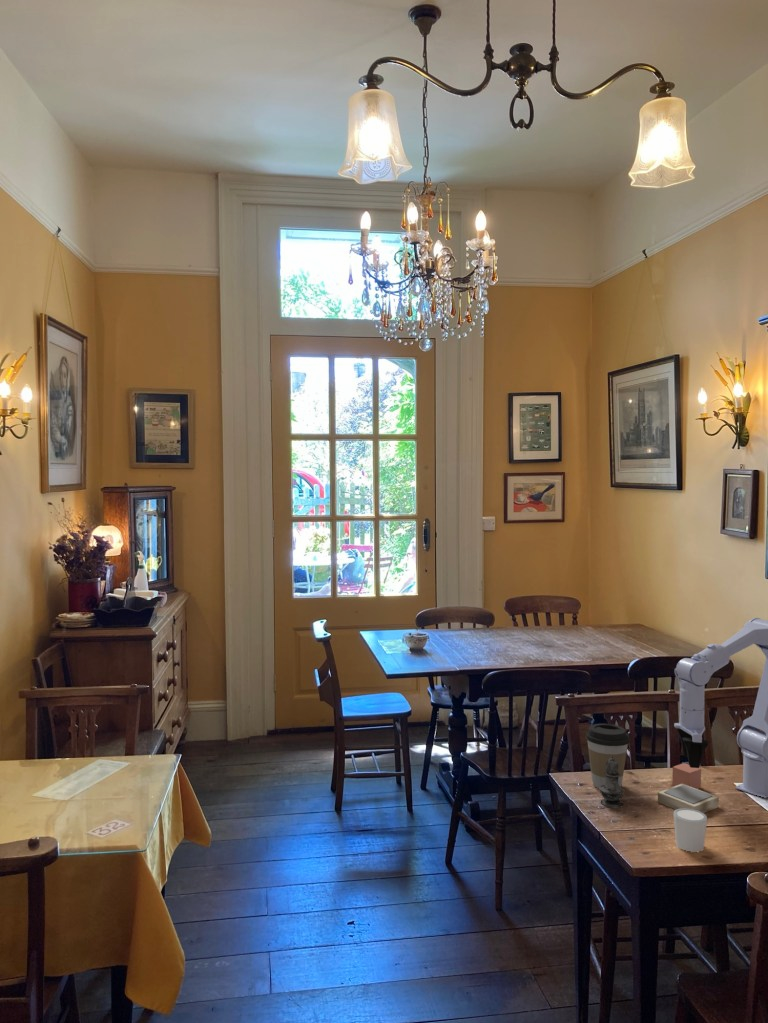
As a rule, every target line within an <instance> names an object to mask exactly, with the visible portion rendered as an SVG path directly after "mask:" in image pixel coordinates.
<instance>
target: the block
mask: <svg viewBox="0 0 768 1023" xmlns="http://www.w3.org/2000/svg"><path fill="white" fill-rule="evenodd" d="M671 780H672V782H671V783H672V786H673V785H674V786H677V785H679V784H685V785H687V786H690V787H693V788H696V789H697V788H698V789H700V788H699V787H702V768H700V767H699V768H691V767H690V766H689V763H685V762H683V763H679V764H677V765H674V766H672V779H671ZM674 786H673V787H674Z"/></svg>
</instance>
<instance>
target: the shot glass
mask: <svg viewBox="0 0 768 1023" xmlns="http://www.w3.org/2000/svg"><path fill="white" fill-rule="evenodd" d="M707 821H708V816H707V815H706V814H705V813H701V812H699V811H696V810H693V809H677V810H676V809H674V811H673V824H674V834H675V835H674V838H675V845H676V847H677V849H679V850H681V849H683V850H682V851H684V850H686V851H685V852H687V851H691V852H690V853H692V852H697V851H702V850H703V851H704V848H705V839H706V832H707V831H706V830H707V824H708V823H707ZM703 851H702V852H703ZM697 853H698V852H697Z"/></svg>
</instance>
